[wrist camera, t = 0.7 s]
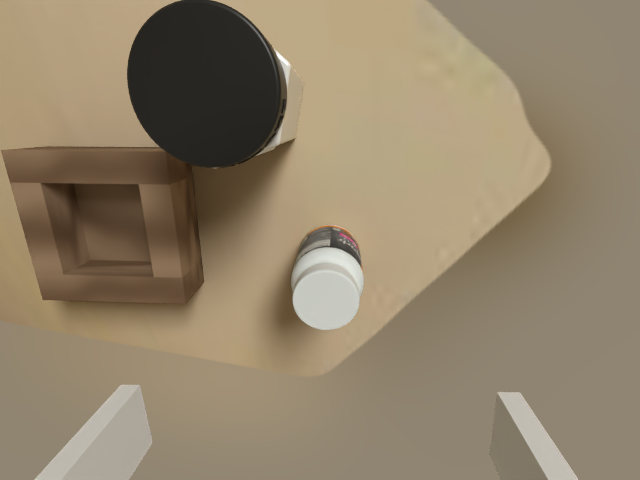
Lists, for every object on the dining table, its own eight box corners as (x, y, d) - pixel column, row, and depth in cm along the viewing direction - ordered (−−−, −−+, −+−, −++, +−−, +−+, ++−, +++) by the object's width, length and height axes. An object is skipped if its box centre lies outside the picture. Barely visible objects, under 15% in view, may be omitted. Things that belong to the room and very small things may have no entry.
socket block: (46, 146, 31) (1, 150, 27) (189, 147, 31) (165, 151, 26) (78, 278, 35) (43, 299, 31) (204, 281, 35) (185, 303, 31)
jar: (226, 166, 31) (163, 191, 20) (186, 72, 29) (88, 39, 17) (321, 131, 30) (311, 137, 18) (286, 29, 27) (251, -36, 16)
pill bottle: (370, 259, 33) (383, 313, 24) (320, 288, 35) (314, 350, 25) (338, 211, 32) (339, 248, 23) (287, 242, 33) (268, 290, 24)
